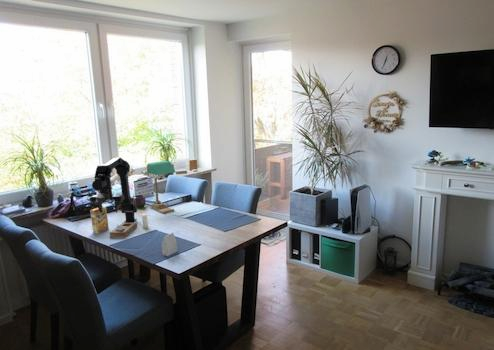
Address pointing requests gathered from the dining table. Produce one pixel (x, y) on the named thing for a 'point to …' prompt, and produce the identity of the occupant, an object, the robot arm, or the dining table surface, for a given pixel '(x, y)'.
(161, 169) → the banker's lamp
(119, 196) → the robot arm
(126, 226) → the walnut socket block
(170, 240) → the tea bag
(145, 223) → the cream dowel
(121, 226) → the grey metal stub
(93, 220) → the candy box
